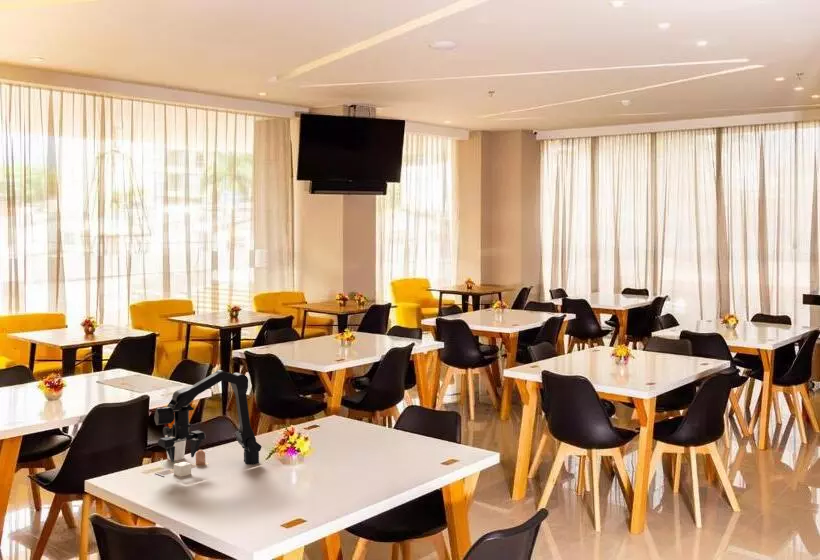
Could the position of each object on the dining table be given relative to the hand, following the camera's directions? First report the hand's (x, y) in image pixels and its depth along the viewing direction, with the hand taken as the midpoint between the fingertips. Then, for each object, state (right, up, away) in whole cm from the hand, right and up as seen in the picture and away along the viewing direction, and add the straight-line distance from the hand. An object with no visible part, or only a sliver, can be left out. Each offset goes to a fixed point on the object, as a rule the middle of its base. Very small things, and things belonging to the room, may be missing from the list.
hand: (182, 459), depth 330 cm
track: (-2, -6, +9) cm, 11 cm away
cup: (-10, -6, +23) cm, 26 cm away
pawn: (+4, -5, +15) cm, 16 cm away
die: (0, -7, 0) cm, 7 cm away
